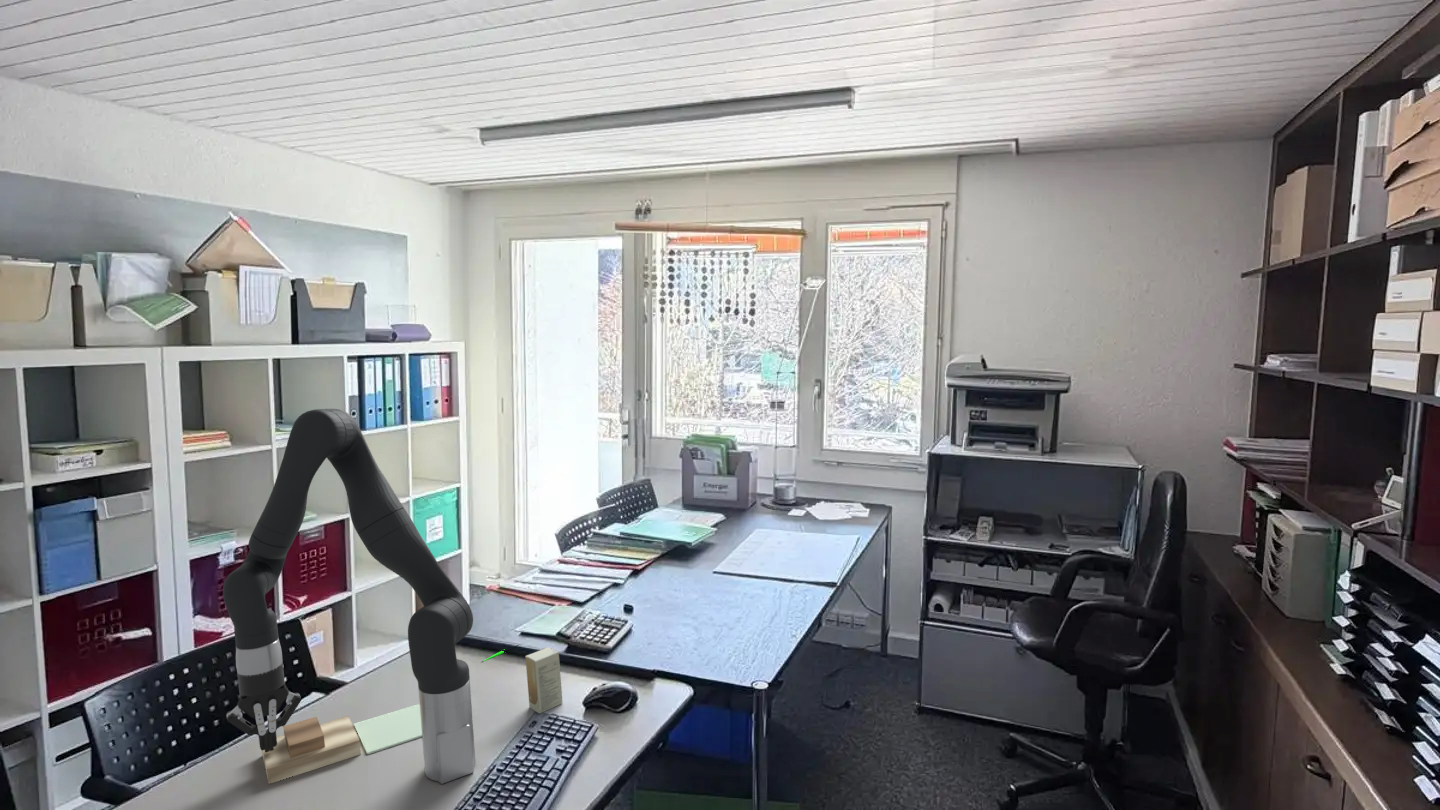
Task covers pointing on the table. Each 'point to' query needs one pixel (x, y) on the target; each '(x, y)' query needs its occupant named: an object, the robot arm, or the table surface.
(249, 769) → the table surface
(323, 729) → the beige ridged block
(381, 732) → the mat
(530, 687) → the skincare box
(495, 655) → the pen
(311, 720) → the brown wooden block
